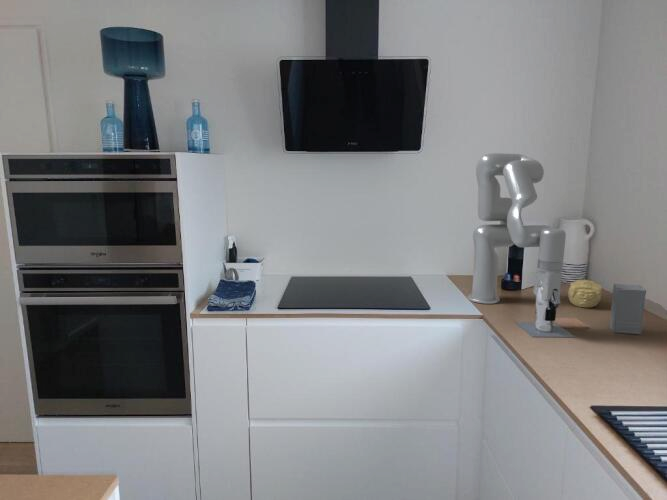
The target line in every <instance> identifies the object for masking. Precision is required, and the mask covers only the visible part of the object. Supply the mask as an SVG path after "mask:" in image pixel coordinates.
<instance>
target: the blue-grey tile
mask: <svg viewBox="0 0 667 500" xmlns="http://www.w3.org/2000/svg"><path fill="white" fill-rule="evenodd" d="M535 322H536V321H515V324H516V325H517V326H518V327H520V328H521V329H522V330H523V331H524V332H525V333H527V334H528V335H529V336H530V337H532V338H576V336H575V335H573V334H572V333H571V332H569V331H568V330H566V328H562V327H561V326H560V325H558V324H557V323H555V322H554V321H553V325H554V331H552V332H542V331H539V330H536V329H535V328H534V326H535Z"/></svg>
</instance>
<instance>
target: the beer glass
mask: <svg viewBox="0 0 667 500" xmlns="http://www.w3.org/2000/svg"><path fill="white" fill-rule="evenodd" d="M550 300H554V298H553V295H552V297H551V299H550ZM547 302H548V300H547V301H544V300H542V288H541V287H539V286H538V287H537V293H536V295H535V314H536V320H535V321H534V322H535V326H534V328H535V329H536V330H539V331H542V332H552V331H554V325H553V322H554V321H546V320H545V313H546V309H547ZM552 303H554V302H550V305H551V304H552Z"/></svg>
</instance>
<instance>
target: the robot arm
mask: <svg viewBox="0 0 667 500" xmlns="http://www.w3.org/2000/svg"><path fill="white" fill-rule="evenodd" d="M543 167H544V166H543V165H542V163H540V162H539V161H538V160H536V159H534V158H531V157H529V156H526V155H523V154H519V153H502V152H497V153H495V152H494V153H487V154H484V155H482V156H481V157H480V158H479V159H478V161H477V164H476V167H475V176H476V181H477V187H478V188H477V190H478V192H477V215H478V219H480V220H481V221H483V222H500V224H499V223H498V224H497V223H494V224H482V225H479V226H476V228H475V229H474V230H473V233H472V240H473V249H474V250H473V251H474V253H473V254H474V255H473V257H474V258H473V270H472V271H473V274H472V289H471V293H469V294H468V295H467V299H468V300H469V301H471V302H474V303H477V304H483V305H484V304H485V305H493V304H498V303H499V302H500V300H501V299H500V297H499V296H498V295H497V285H498V284H497V283H498V272H499V271H498V270H499V256H498V254H497V252H496V250H495V249H497V248H498V249H499V248H509V247H512V246H514V245H515V246H516V247H517V248H538V257H537V259H538V260H537V268H536V273H535V278H534V283H533V291H532V292H533V294H534V295H535V296H536V293H537V287H538V286H539V287H541V288H542V300H544V301H547V300H548V302H547V309H546V313H545V320H546V321H553V322H554V321H555V318H557V317H556V315H557V310H558V307H559V305H560V304H561V295H562V294H561V292H562V272H563V266H564V256H565V246H566V238H567V237H566V236H567V234H566V231H565V230H564V229H562V228H561V229H560V228H556V227H555V228H553V227H551V226H549V225H543V224H540V225H537V224H534V225H533V224H532V225H528V224H527V225H524V222H523V220H522V218H523V217H522V210H523V208H527V207H528V206H530V205H532V204H533V203H535V202H536V200H537V198H538V194H537V191H536V188H535V186H534V185H535V184H537V183H540V182H541V181H542V180H543V178H544V176H545V171H544V170H545V169H544V168H543ZM496 176H503V178H504V181H505V184H506V188H507V189H508V193H509V196H510V197H501V184H500V182H499V180H498V178H496ZM552 295H553V298H554V300H550V299H551V297H552ZM550 302H554V303H552V304H551V305H550Z"/></svg>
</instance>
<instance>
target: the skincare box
mask: <svg viewBox="0 0 667 500" xmlns="http://www.w3.org/2000/svg"><path fill="white" fill-rule="evenodd" d="M646 294H647V290H646V289H645V288H644V287H643V286H642V285H641V284H619V283H618V284H617V283H613V288H612V296H611V297H612V298H611V308H610V317H609V327H610V329H611V331H612V332H613V333H618V334H620V333H621V334H630V335H642V330H643V328H642V327H643V321H644V311H645V303H646V296H647V295H646Z"/></svg>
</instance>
